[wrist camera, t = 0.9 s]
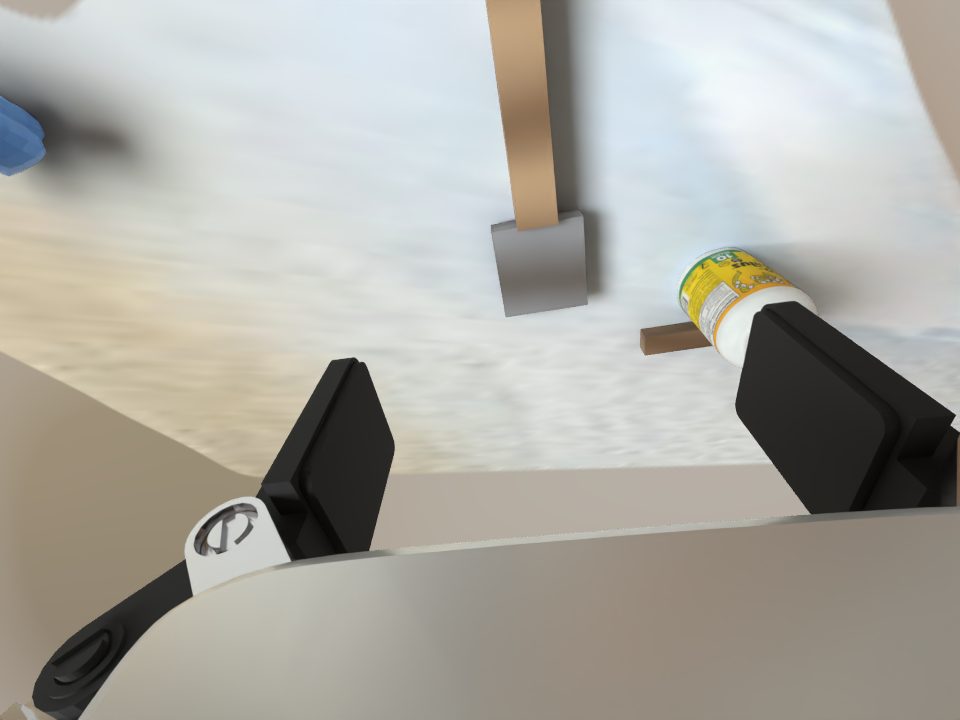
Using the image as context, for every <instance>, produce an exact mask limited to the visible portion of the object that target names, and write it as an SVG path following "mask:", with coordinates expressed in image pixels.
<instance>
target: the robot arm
mask: <svg viewBox="0 0 960 720" xmlns="http://www.w3.org/2000/svg"><path fill="white" fill-rule="evenodd" d="M735 407H736V412H737V415H738V416H739V418H740V420H741V421H742V422H743V424H744V425H745V426H746V428H747V429H748V430H749V432H750V433H751V434H752V436H753V437H754V438H755V440H756V441H757V442H758V444H759V445H760V446H761V448H762V449H763V451H764V452H765V453H766V455H767V456H768V457H769V459H770V460H771V461H772V463H773V464H774V465H775V467H776V468H777V469H778V471H779V472H780V473H781V475H782V476H783V478H784V479H785V480H786V482H787V483H788V484H789V486H790V487H791V488H792V489H793V491H794V492H795V494H796V495H797V496H798V497H799V499H800V500H801V502H802V503H803V504H804V506H805V507H806V509H807V510H808V511H809V513H810V514H811V515H798V516H786V517H772V518H759V519H746V520H733V521H719V522H705V523H693V524H679V525H667V526H654V527H642V528H629V529H617V530H604V531H592V532H580V533H567V534H555V535H543V536H531V537H520V538H508V539H496V540H484V541H474V542H461V543H449V544H438V545H427V546H415V547H405V548H394V549H386V550H375V551H369V549H370V545H371V541H372V537H373V533H374V530H375V526H376V522H377V518H378V514H379V510H380V506H381V502H382V499H383V495H384V491H385V487H386V483H387V479H388V475H389V471H390V468H391V464H392V460H393V456H394V451H395V446H394V440H393V437H392V434H391V431H390V428H389V426H388V423H387V420H386V418H385V415H384V412H383V409H382V407H381V404H380V401H379V398H378V396H377V393H376V390H375V388H374V385H373V382H372V379H371V377H370V374H369V371H368V368H367V366H366V364H365V363H364V362H359V361H358V360H357V359H356V358H346V359H338V360H332V361H331V362H330V364H329V366H328V367H327V369H326V371H325V373H324V374H323V376H322V378H321V380H320V381H319V383H318V385H317V387H316V388H315V390H314V392H313V394H312V395H311V397H310V399H309V401H308V402H307V404H306V406H305V408H304V409H303V411H302V413H301V415H300V417H299V418H298V420H297V422H296V424H295V425H294V427H293V429H292V431H291V432H290V434H289V436H288V438H287V439H286V441H285V443H284V445H283V446H282V448H281V450H280V452H279V453H278V455H277V457H276V459H275V460H274V462H273V464H272V466H271V468H270V469H269V471H268V473H267V475H266V476H265V478H264V480H263V482H262V483H261V485H262V487H261V489H260V490H259V492H258V494H257V496H256V497H255V498H254V497H241V498H237V499H233V500H230V501H228V502H226V503H224V504H222V505H220V506H218V507H217V508H215V509H214V510H212V511H211V512H209V513H208V514H207V515H206V516H205V517H204V518H202V519H201V520H200V521H199V522H198V523H197V524H196V526H195V527H194V528H193V530H192V531H191V532H190V534H189V536H188V538H187V541H186V543H185V558H186V559H185V560H183V561H182V562H181V563H179V564H178V565H176V566H175V567H173V568H172V569H170V570H169V571H167V572H166V573H164V574H163V575H161V576H160V577H158V578H157V579H155V580H154V581H152V582H151V583H149V584H148V585H146V586H145V587H143V588H142V589H140V590H139V591H137V592H136V593H134V594H133V595H131V596H130V597H128V598H127V599H125V600H124V601H122V602H121V603H119V604H118V605H116V606H115V607H113V608H112V609H110V610H109V611H107V612H106V613H104V614H103V615H101V616H100V617H98V618H97V619H95V620H94V621H92V622H91V623H89V624H88V625H86V626H85V627H83V628H82V629H81V630H80V631H79V632H77V633H76V634H75V635H73V636H72V637H71V638H69V639H68V640H67V641H66V642H65V643H64V644H63V645H62V646H61V647H60V648H59V649H58V650H57V651H56V652H55V653H54V655H53V656H52V657H51V659H50V660H49V661H48V662H47V664H46V665H45V666H44V668H43V669H42V671H41V673H40V675H39V677H38V679H37V681H36V683H35V686H34V691H33V695H32V699H31V700H30V701H28V702H27V703H26V704H25V705H24V706H23V705H21V704H19V703H17V702H15V703H14V704H13V705H12V706H11V707H9V708H8V709H7V710H6V711H5V712H4V713H3V714H2V715H0V720H960V432H958V431H957V430H956V429H954V428H953V427H952V426H950V425H951V423H952V421H953V420H954V418H955V416H956V415H955V414H954V413H952V412H951V411H950V410H948V409H947V408H945V407H944V406H943V405H941V404H940V403H938V402H937V401H936V400H934V399H933V398H931V397H930V396H929V395H927V394H926V393H924V392H923V391H922V390H920V389H919V388H917V387H916V386H915V385H913V384H912V383H910V382H909V381H908V380H906V379H905V378H903V377H902V376H901V375H899V374H898V373H896V372H895V371H894V370H892V369H891V368H889V367H888V366H887V365H885V364H884V363H882V362H881V361H880V360H878V359H877V358H875V357H874V356H873V355H871V354H870V353H869V352H867V351H866V350H864V349H863V348H862V347H860V346H859V345H857V344H856V343H855V342H853V341H852V340H850V339H849V338H848V337H846V336H845V335H843V334H842V333H841V332H839V331H838V330H836V329H835V328H834V327H832V326H831V325H829V324H828V323H827V322H825V321H824V320H822V319H821V318H820V317H818V316H817V315H815V314H814V313H813V312H811V311H810V310H808V309H807V308H806V307H804V306H803V305H801V304H800V303H799V302H796V301H787V302H779V303H771V304H766V305H764V306H763V307H762V309H761V311H758V312H756V313H755V314H754V317H753V320H752V325H751V330H750V335H749V339H748V344H747V349H746V354H745V359H744V363H743V368H742V373H741V378H740V383H739V388H738V392H737V397H736V403H735Z"/></svg>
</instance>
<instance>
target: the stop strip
mask: <svg viewBox="0 0 960 720" xmlns="http://www.w3.org/2000/svg"><path fill="white" fill-rule="evenodd" d="M707 346H713V345H712V344H711V343H710V342H709V340H708V339H707V338H706V337H705V336H704V334H703V333H702V332H701V331H700V330H699V328H698V327H697V326H696V325H695V324H694V323H693V322H687V323H680V324H674V325H667V326H660V327H654V328H647V329H641V338H640V347H641V349H642V351H643V353H644V355H652V354H659V353H666V352H673V351H680V350H687V349H694V348H700V347H707Z"/></svg>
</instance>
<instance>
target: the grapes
mask: <svg viewBox="0 0 960 720" xmlns="http://www.w3.org/2000/svg"><path fill="white" fill-rule="evenodd" d="M44 136H45V134H44V131H43V129H42V126H41V125H40V123H39V122H38V121H37V120H36V119H35V118H34V117H32V116H31V115H30V114H29V113H27V112H26V111H25V110H24V109H22V108H20V107H19V106H17V105H15V104H13V103H12V102H10V101H8V100H7V99H5V98H3V97H1V96H0V173H2V174H4V175H7V176H11V175H14V174H17V173H19V172H22V171H24V170H26V169H28V168H29V167H31V166H33V165H35V164H37V163H38V162H40V161H41V160H42V158H43V157H44V155H45V153H46V150H45V147H44V145H43V143H42V139H43V138H44Z"/></svg>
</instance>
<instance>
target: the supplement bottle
mask: <svg viewBox="0 0 960 720" xmlns="http://www.w3.org/2000/svg"><path fill="white" fill-rule="evenodd" d="M677 299H678V302H679V304H680V306H681V308H682V309H683V310H684V312H685V313H686V314H687V316H688V317H689V318H690V319H691V320H692V321H693V323H694V324H695V325H696V326H697V327H698V328H699V330H700V331H701V332H702V333H703V334H704V336H705V337H706V338H707V339H708V340H709V342H710V343H711V344H712V345H713V346H714V348H715V349H716V350H717V351H718V352H719V354H720V355H721V356H722V357H723V358H724V359H725V360H726V361H728V362H729V363H731V364H732V365H734V366H737V367H740V368H743V363H744V359H745V354H746V349H747V344H748V339H749V335H750V330H751V325H752V320H753V317H754V314H755V313H756V312H758V311H761V309H762V307H763V306H764V305H766V304H771V303H779V302H787V301H796V302H799V303H800V304H801V305H803V306H804V307H806V308H807V309H808V310H810V311H811V312H813V313H814V314H815V315H817V316H818V311H817V308H816V305H815V303H814V302H813V300H812V299H811V298H810V297H809V296H808V295H807V294H806V293H804V292H803V291H801V290H800V289H799V288H797V287H796V286H794V285H793V284H792V283H790V282H789V281H787V280H786V279H784V278H783V277H781V276H780V275H778V274H777V273H775V272H774V271H773V270H771V269H769V268H768V267H767V266H765V265H764V264H762V263H761V262H760V261H758V260H757V259H755V258H754V257H752V256H751V255H749V254H748V253H746V252H744V251H742V250H740V249H735V248H721V249H717V250H714V251H710V252H707V253H705V254H703V255H701V256H700V257H698V258H697V259H695V260H694V261H692V262H691V263H690V264H689V266H688V267H687V268H686V269H685V271H684V272H683V274H682V275H681V277H680V279H679V282H678V286H677Z"/></svg>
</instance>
